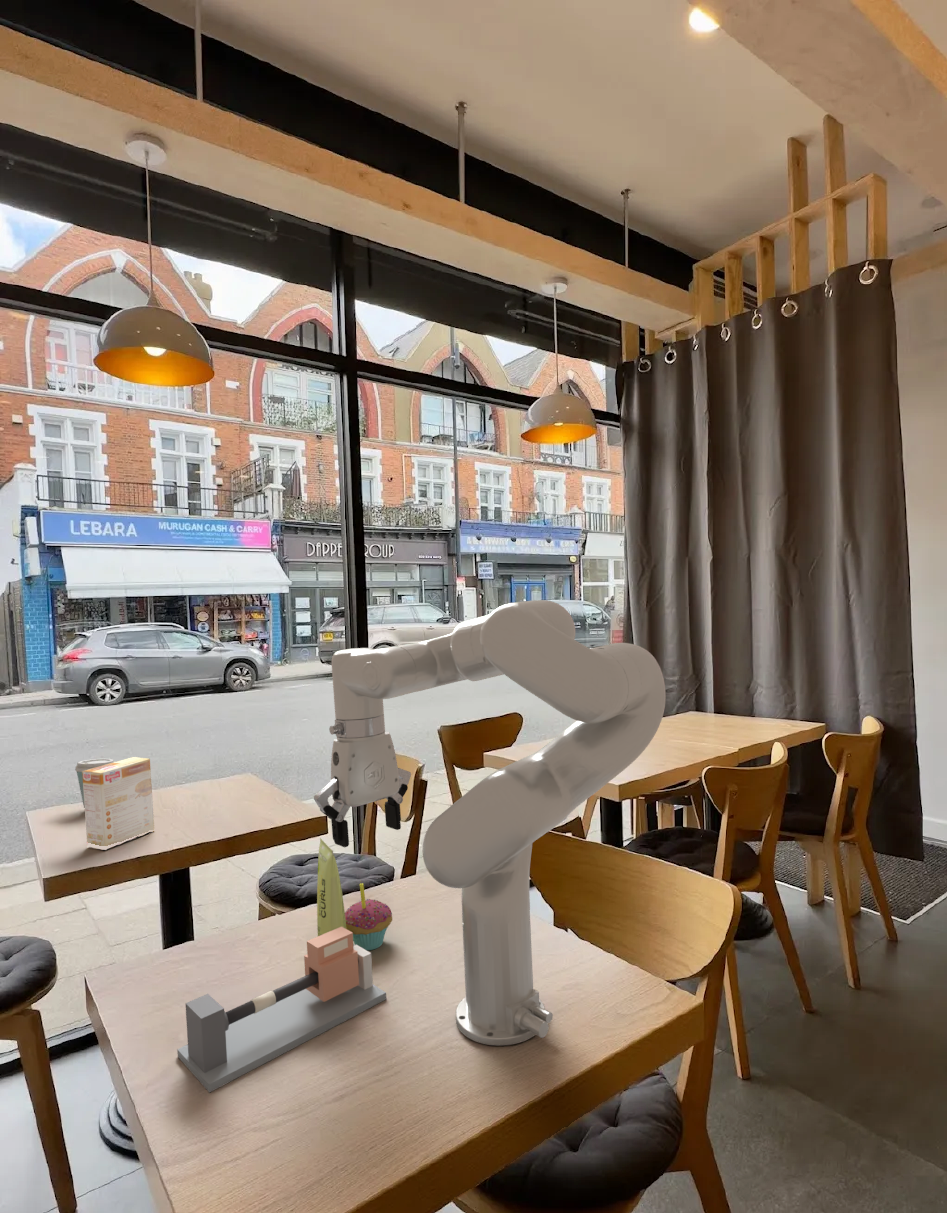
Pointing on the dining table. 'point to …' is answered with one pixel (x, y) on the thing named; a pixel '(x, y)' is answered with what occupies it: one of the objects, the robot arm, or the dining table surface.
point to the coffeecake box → (118, 801)
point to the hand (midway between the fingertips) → (368, 836)
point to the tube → (329, 892)
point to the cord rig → (267, 1025)
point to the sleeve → (332, 963)
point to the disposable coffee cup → (86, 766)
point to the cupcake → (368, 921)
